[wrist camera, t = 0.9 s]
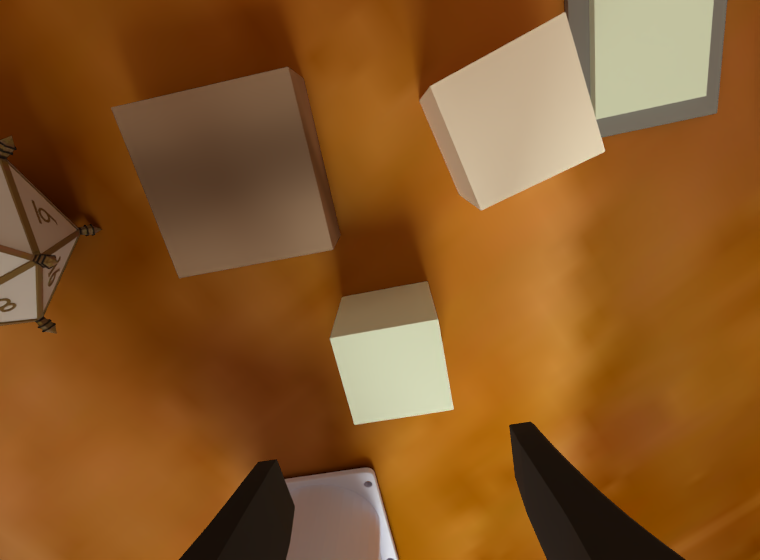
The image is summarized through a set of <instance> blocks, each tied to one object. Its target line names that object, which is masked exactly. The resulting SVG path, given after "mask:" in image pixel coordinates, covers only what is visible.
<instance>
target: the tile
mask: <svg viewBox="0 0 760 560" xmlns="http://www.w3.org/2000/svg"><path fill="white" fill-rule="evenodd" d="M726 7H727V0H565V12H566V16H567V19H568V23H569V26H570V30H571V33H572V37H573V40H574V44H575V47H576V51H577V54H578V58H579V61H580V65H581V68H582V72H583V75H584V79H585V82H586V86H587V89H588V93H589V96H590V100H591V103H592V107H593V110H594V114H595V117H596V121H597V124H598V128H599V131H600V135H601V137H606V136H611V135H616V134H620V133H625V132H630V131H635V130H639V129H644V128H649V127H654V126H658V125H663V124H668V123H672V122H677V121H682V120H687V119H691V118H696V117H701V116H706V115H710V114H715V113H717V108H718V97H719V86H720V74H721V63H722V52H723V41H724V30H725V19H726Z"/></svg>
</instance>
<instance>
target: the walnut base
mask: <svg viewBox="0 0 760 560" xmlns="http://www.w3.org/2000/svg"><path fill="white" fill-rule="evenodd" d="M111 109H112V111H113V114H114V116H115V119H116V121H117V124H118V126H119V129H120V131H121V134H122V136H123V139H124V141H125V144H126V146H127V149H128V151H129V154H130V156H131V159H132V162H133V164H134V167H135V169H136V172H137V174H138V177H139V179H140V182H141V184H142V187H143V189H144V192H145V194H146V197H147V199H148V202H149V204H150V207H151V209H152V212H153V214H154V217H155V219H156V222H157V224H158V227H159V229H160V232H161V234H162V237H163V239H164V242H165V244H166V247H167V249H168V252H169V254H170V257H171V259H172V262H173V264H174V267H175V269H176V272H177V274H178V277H179V278H183V277H189V276H194V275H200V274H205V273H210V272H216V271H221V270H227V269H232V268H237V267H243V266H248V265H253V264H259V263H264V262H270V261H275V260H280V259H286V258H291V257H297V256H302V255H307V254H313V253H318V252H324V251H329V250H333V249H334V247H335V245H336V243H337V241H338V239H339V237H340V236H341V234H340V230H339V226H338V222H337V217H336V213H335V209H334V205H333V201H332V196H331V192H330V188H329V184H328V179H327V175H326V171H325V167H324V162H323V158H322V154H321V150H320V145H319V141H318V137H317V133H316V128H315V124H314V120H313V116H312V112H311V107H310V103H309V99H308V95H307V90H306V86H305V82H304V78H302V77H301V76H300V75H298V74H297V73H296V72H295V71H293V70H292V69H291V68H289V67H285V68H280V69H276V70H272V71H267V72H263V73H259V74H254V75H250V76H246V77H241V78H237V79H233V80H228V81H224V82H220V83H215V84H211V85H207V86H202V87H198V88H194V89H189V90H185V91H181V92H177V93H172V94H168V95H164V96H159V97H155V98H151V99H146V100H142V101H138V102H133V103H129V104H125V105H120V106H116V107H112V108H111Z"/></svg>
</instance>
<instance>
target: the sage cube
mask: <svg viewBox="0 0 760 560" xmlns="http://www.w3.org/2000/svg"><path fill="white" fill-rule="evenodd" d="M330 341H331V345H332V348H333V352H334V355H335V359H336V362H337V366H338V369H339V373H340V376H341V380H342V383H343V387H344V390H345V394H346V397H347V401H348V404H349V408H350V411H351V415H352V418H353V422H354V425H357V424H363V423H370V422H377V421H383V420H390V419H396V418H403V417H409V416H416V415H422V414H429V413H435V412H442V411H448V410H454V409H453V403H452V397H451V391H450V385H449V379H448V374H447V368H446V362H445V356H444V350H443V344H442V339H441V333H440V327H439V321H438V317H437V313H436V310H435V306H434V303H433V299H432V295H431V292H430V288H429V285H428V281H425V282H420V283H414V284H409V285H403V286H398V287H393V288H387V289H382V290H376V291H371V292H366V293H360V294H355V295H350V296H344V297H342V299H341V302H340V306H339V309H338V312H337V316H336V319H335V322H334V326H333V329H332V332H331V336H330Z"/></svg>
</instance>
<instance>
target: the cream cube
mask: <svg viewBox="0 0 760 560" xmlns="http://www.w3.org/2000/svg"><path fill="white" fill-rule="evenodd" d="M419 101H420V103H421V106H422V108H423V110H424V113H425V115H426V118H427V120H428V122H429V125H430V127H431V129H432V132H433V134H434V136H435V139H436V141H437V144H438V146H439V148H440V151H441V153H442V155H443V158H444V160H445V162H446V165H447V167H448V169H449V172H450V174H451V177H452V179H453V181H454V184H455V186H456V188H457V191H458V193H459V195H460V196H462V197H463V198H465V199H466V200H467V201H469V202H470V203H471V204H473V205H474V206H476V207H477V208H478V209H480V210H483V209H485V208H487V207H489V206H492V205H494V204H496V203H498V202H500V201H502V200H504V199H506V198H508V197H511V196H513V195H515V194H517V193H519V192H521V191H523V190H525V189H527V188H529V187H532V186H534V185H536V184H538V183H540V182H542V181H544V180H546V179H548V178H550V177H553V176H555V175H557V174H559V173H561V172H563V171H565V170H567V169H569V168H571V167H574V166H576V165H578V164H580V163H582V162H584V161H586V160H588V159H590V158H592V157H595V156H597V155H599V154H601V153H603V152H605V149H604V145H603V142H602V138H601V135H600V131H599V128H598V124H597V121H596V117H595V114H594V110H593V107H592V103H591V100H590V96H589V93H588V89H587V86H586V82H585V79H584V75H583V72H582V68H581V65H580V61H579V58H578V54H577V51H576V47H575V44H574V40H573V37H572V33H571V30H570V26H569V23H568V19H567V16H566V12H564V13H562V14H561V15H559V16H557V17H555V18H553V19H551V20H550V21H548V22H546V23H544V24H542V25H541V26H539V27H537V28H535V29H533V30H531V31H530V32H528V33H526V34H524V35H522V36H520V37H519V38H517V39H515V40H513V41H511V42H510V43H508V44H506V45H504V46H502V47H500V48H499V49H497V50H495V51H493V52H491V53H490V54H488V55H486V56H484V57H482V58H480V59H479V60H477V61H475V62H473V63H471V64H469V65H468V66H466V67H464V68H462V69H460V70H459V71H457V72H455V73H453V74H451V75H449V76H448V77H446V78H444V79H442V80H440V81H438V82H437V83H435V84H433V85H431V86H430V87H429V88H428V90H427V91H426V92H425V94H424V95H423V96H422V98H421V99H420V100H419Z"/></svg>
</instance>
